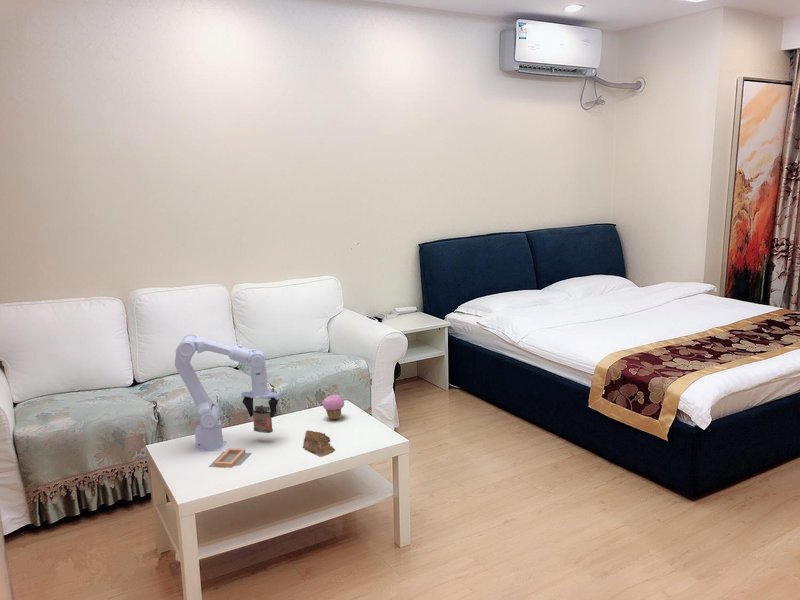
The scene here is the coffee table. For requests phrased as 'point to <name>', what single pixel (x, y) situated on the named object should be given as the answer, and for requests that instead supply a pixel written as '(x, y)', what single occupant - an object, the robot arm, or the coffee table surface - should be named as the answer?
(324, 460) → the coffee table surface
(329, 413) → the cupcake
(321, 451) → the wooden fragment
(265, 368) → the robot arm
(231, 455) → the holder
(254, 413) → the lighter
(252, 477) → the coffee table surface
